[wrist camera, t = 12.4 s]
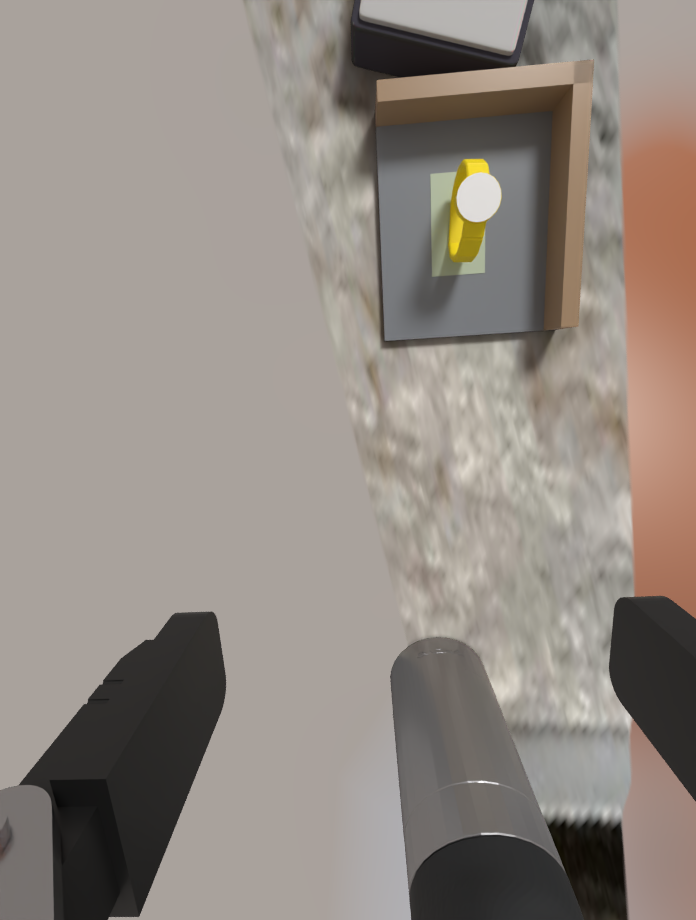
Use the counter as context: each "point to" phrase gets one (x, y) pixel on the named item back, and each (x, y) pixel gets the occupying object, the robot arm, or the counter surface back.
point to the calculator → (437, 35)
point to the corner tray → (521, 209)
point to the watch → (471, 208)
